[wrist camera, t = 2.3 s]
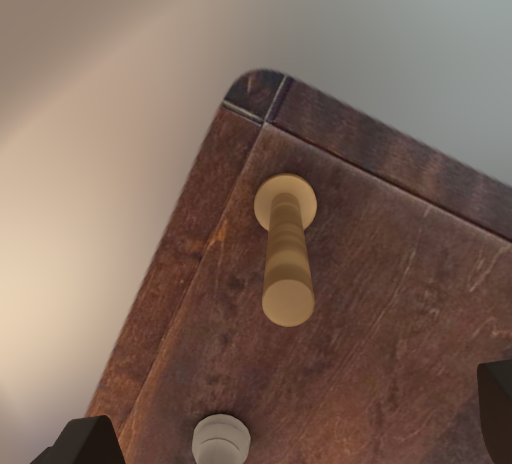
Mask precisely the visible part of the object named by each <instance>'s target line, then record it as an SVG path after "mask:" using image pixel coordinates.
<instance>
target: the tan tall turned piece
mask: <svg viewBox="0 0 512 464" xmlns="http://www.w3.org/2000/svg"><path fill="white" fill-rule="evenodd" d="M316 209H317V201H316V197H315V194H314V191H313V189H312V187H311V186H310V184H309V183H308V182H307V181H306V180H305V179H303V178H302V177H300V176H298V175H296V174H292V173H279V174H275V175H273V176H271V177H269V178H267V179H266V180H265V181H264V182H263V183H262V184H261V185H260V187H259V188H258V190H257V193H256V196H255V200H254V211H255V215H256V218H257V220H258V221H259V223H260V224H261V225H262V226H263V227H264V228H265V229H266V230H267V231H269V233H268V244H267V255H266V265H265V276H264V286H263V297H262V306H263V310H264V312H265V314H266V316H267V317H268V318H269V319H270V320H271V321H273V322H274V323H276V324H278V325H281V326H286V327H291V326H296V325H299V324H301V323H303V322H305V321H306V320H307V319H308V318H309V317H310V316H311V314H312V312H313V310H314V306H315V299H314V293H313V287H312V280H311V274H310V268H309V262H308V255H307V249H306V243H305V237H304V230H305V229H306V228H307V227H308V226H309V225H310V224H311V222H312V221H313V219H314V217H315V214H316Z"/></svg>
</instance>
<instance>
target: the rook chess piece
mask: <svg viewBox="0 0 512 464" xmlns="http://www.w3.org/2000/svg"><path fill="white" fill-rule="evenodd" d="M250 440H251V438H250V435H249V432H248V429H247V428H246V427H245V426H244V424H243V423H242V422H241V421H240V420H238V419H236V418H234V417H233V416H231V415H225V414H217V415H212V416H208V417H207V418H205V419H204V420H202V421H200V422H199V424H198V425H197V427H196V428H195V430H194V437H193V443H192V452H193V454H194V457H195V460H196V463H197V464H243V463H244V461H245V460H246V458H247V456H248V450H249V446H250Z"/></svg>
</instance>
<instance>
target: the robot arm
mask: <svg viewBox="0 0 512 464" xmlns="http://www.w3.org/2000/svg"><path fill="white" fill-rule="evenodd" d="M477 379H478V392H479V406H480V419H481V429H482V434H483V438H484V442H485V445H486V448H487V450H488V453H489V455H490V457H491V459H492V461H493V463H494V464H512V359H511V360H503V361H496V362H489V363H482V364H479V365H478V368H477ZM30 464H126V463H125V460H124V457H123V454H122V451H121V449H120V446H119V443H118V440H117V437H116V434H115V431H114V428H113V425H112V423H111V420H110V419H109V418H108V417H107V416H106V415H102V416H94V417H87V418H81V419H73V420H71V421H69V422H68V424H67V425H66V426H65V428H64V429H63V431H62V432H61V434H60V436H59V437H58V439H57V440H56V442H55V444H54V445H53V446H52V447H48V448H46V449H45V450H44V451H43V452H42V453H41V454H40V455H39V456H38V457H37V458H35V459H34V460H33V461H32V462H31V463H30Z"/></svg>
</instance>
